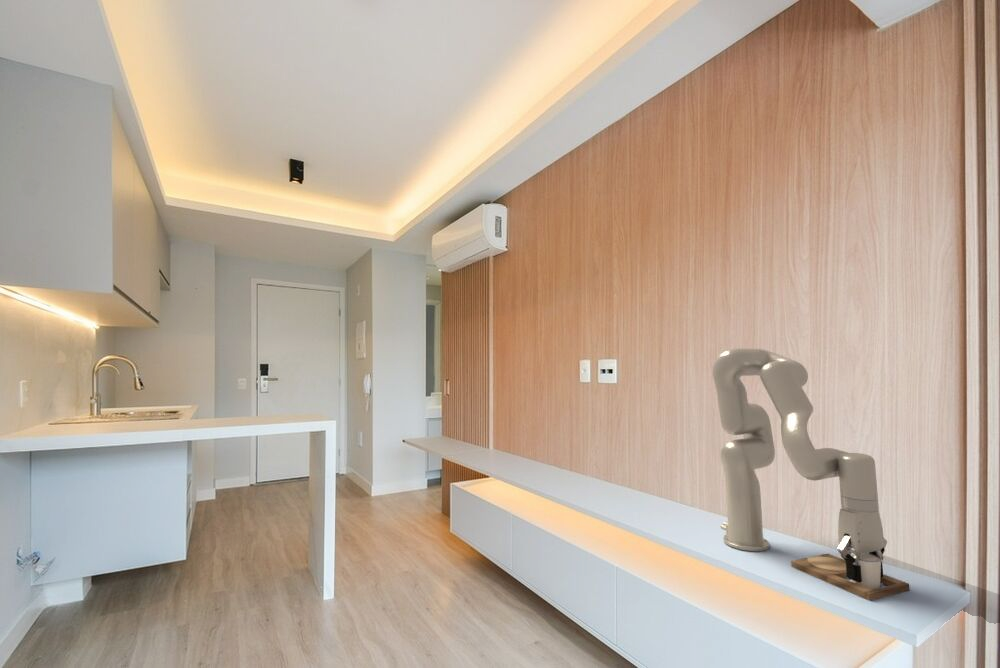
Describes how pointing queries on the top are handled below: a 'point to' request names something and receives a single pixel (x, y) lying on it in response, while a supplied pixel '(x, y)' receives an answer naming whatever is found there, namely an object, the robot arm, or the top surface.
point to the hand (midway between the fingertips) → (865, 577)
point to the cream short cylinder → (869, 571)
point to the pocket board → (835, 572)
